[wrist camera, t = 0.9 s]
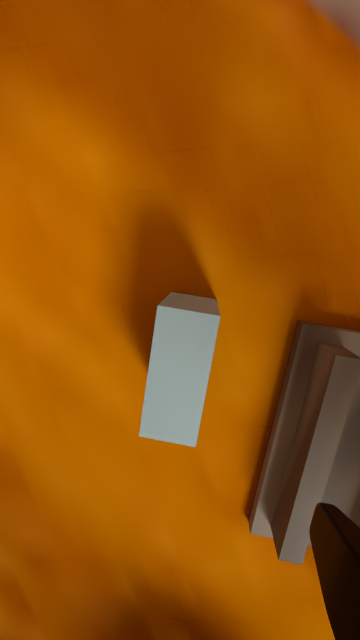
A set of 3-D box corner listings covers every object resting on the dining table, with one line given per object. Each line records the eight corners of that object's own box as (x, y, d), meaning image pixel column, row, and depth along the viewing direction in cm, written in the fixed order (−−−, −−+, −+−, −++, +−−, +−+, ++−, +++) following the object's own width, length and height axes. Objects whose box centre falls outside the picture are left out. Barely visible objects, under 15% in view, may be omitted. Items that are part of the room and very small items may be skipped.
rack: (455, 347, 19) (510, 366, 16) (381, 549, 22) (412, 601, 19) (298, 320, 20) (317, 333, 16) (248, 522, 23) (255, 568, 20)
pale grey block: (216, 299, 20) (220, 315, 14) (198, 395, 21) (195, 447, 16) (171, 291, 20) (157, 305, 14) (157, 387, 22) (138, 436, 16)
